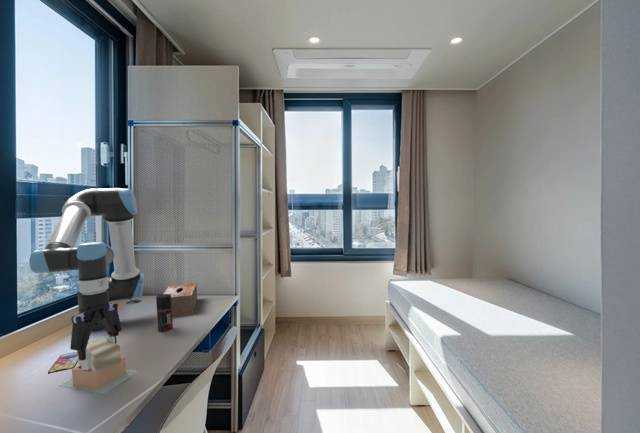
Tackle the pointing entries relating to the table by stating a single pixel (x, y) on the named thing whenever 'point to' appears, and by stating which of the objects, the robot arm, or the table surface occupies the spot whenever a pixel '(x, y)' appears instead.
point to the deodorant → (164, 312)
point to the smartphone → (64, 362)
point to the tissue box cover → (182, 298)
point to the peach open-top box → (97, 375)
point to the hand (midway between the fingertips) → (99, 362)
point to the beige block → (102, 354)
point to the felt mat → (106, 387)
